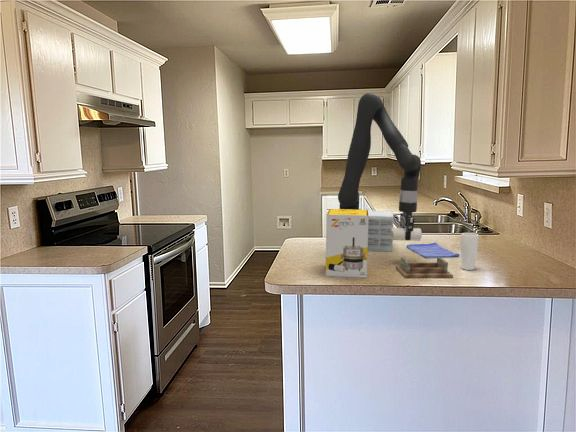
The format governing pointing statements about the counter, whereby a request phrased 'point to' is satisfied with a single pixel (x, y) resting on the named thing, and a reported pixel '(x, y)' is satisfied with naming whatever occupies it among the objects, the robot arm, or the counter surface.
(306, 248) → the counter surface
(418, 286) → the counter surface
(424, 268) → the cradle
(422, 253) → the dish towel
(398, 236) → the roll
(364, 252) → the packaging box
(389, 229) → the supplement box
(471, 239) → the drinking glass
